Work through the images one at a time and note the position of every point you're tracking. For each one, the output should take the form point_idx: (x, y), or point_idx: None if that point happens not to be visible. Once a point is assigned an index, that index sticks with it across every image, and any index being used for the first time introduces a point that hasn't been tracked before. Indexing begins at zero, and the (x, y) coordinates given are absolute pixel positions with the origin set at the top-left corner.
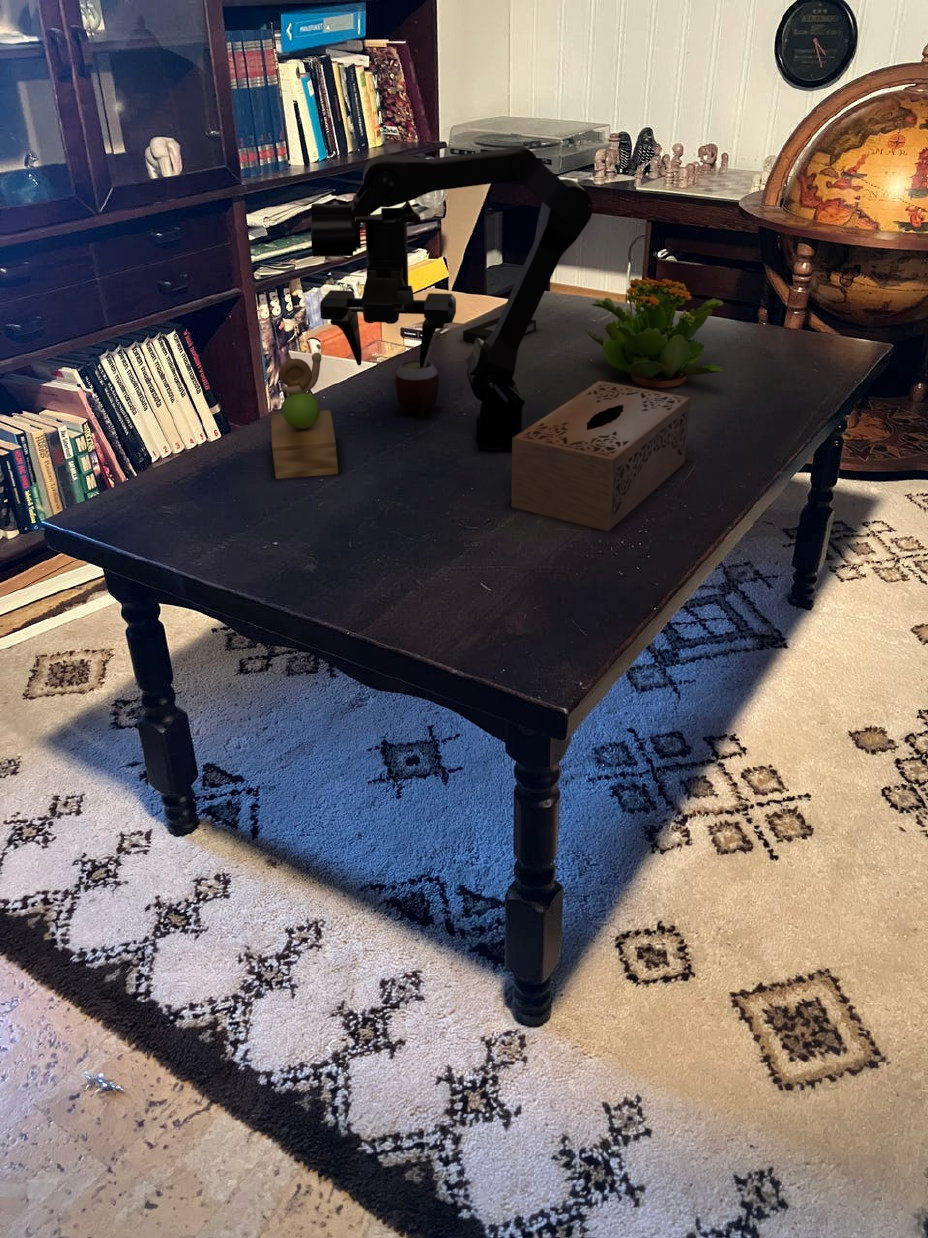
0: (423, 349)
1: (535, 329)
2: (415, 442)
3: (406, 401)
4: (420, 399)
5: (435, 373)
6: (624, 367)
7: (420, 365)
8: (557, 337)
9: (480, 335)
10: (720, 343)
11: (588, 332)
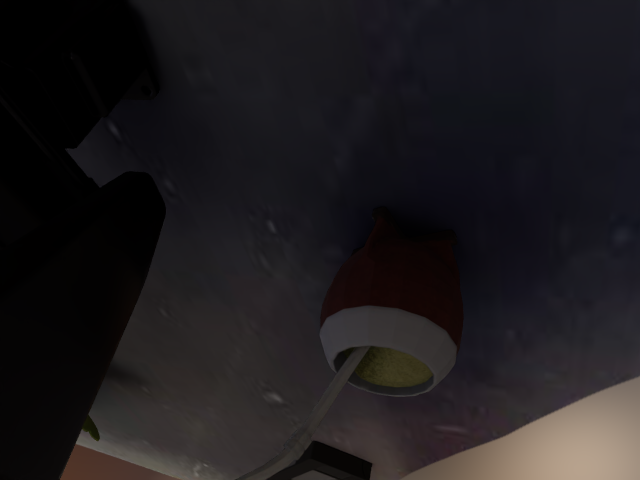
0: (6, 272)
1: None
2: (366, 18)
3: (426, 253)
4: (375, 250)
5: (320, 333)
6: None
7: (132, 178)
8: (231, 445)
9: (335, 467)
10: None
11: (83, 429)
